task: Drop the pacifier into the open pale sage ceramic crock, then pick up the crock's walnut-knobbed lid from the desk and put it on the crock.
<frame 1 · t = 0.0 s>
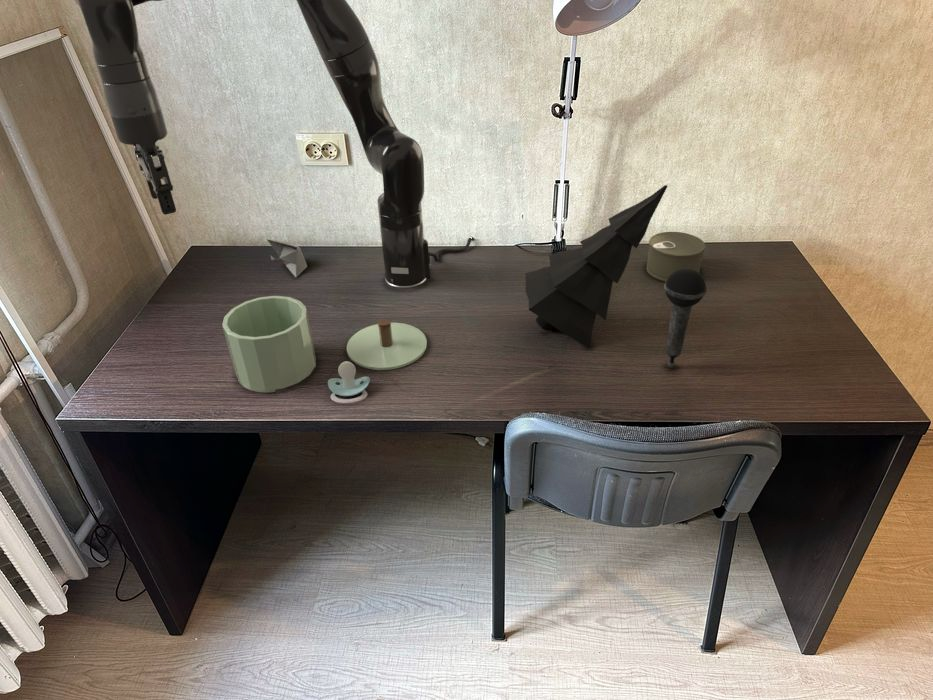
hand: (164, 204, 116), 29 cm above the table, tool pointing down, fingers open, 8 cm apart
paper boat: (288, 268, 159), on the table
can: (672, 271, 153), on the table
decorative tree: (584, 328, 134), on the table
microphone: (670, 368, 122), on the table
pacifier: (349, 395, 118), on the table
crock: (277, 368, 125), on the table
lid: (387, 346, 129), point 1 cm above the table
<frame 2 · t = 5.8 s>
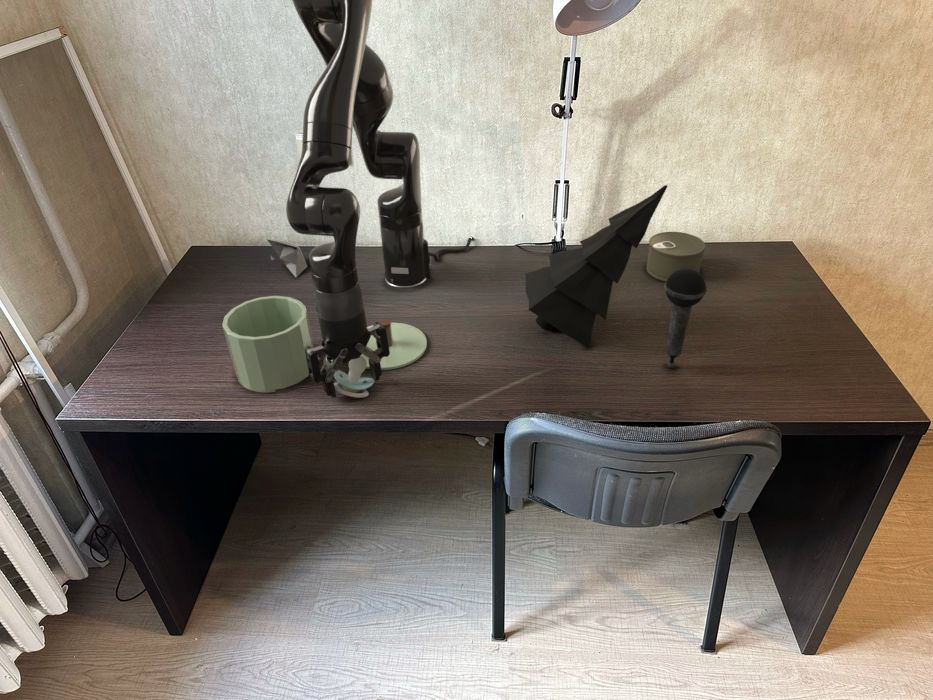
hand: (354, 386, 117), 2 cm above the table, tool pointing down, fingers closed on pacifier, 8 cm apart
pacifier: (349, 390, 118), point 1 cm above the table, touching gripper
everything else where it was.
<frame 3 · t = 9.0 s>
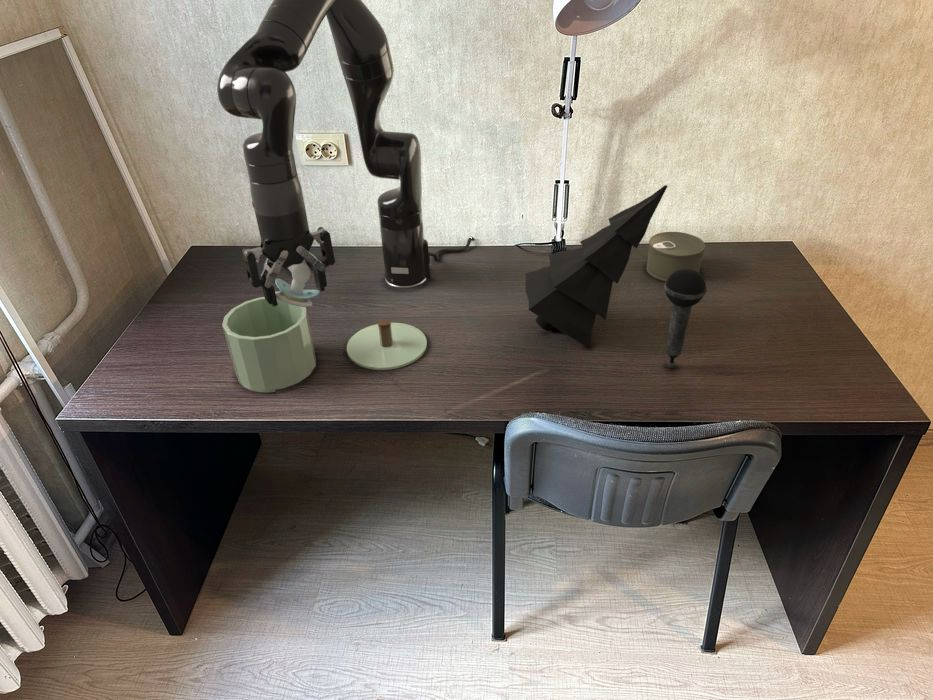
hand: (297, 296, 112), 18 cm above the table, tool pointing down, fingers closed on pacifier, 7 cm apart
pacifier: (292, 301, 112), point 17 cm above the table, touching gripper
everything else where it was.
when the fingers open (12 cm above the table, at t = 12.3 s): pacifier drops 11 cm, resting on crock.
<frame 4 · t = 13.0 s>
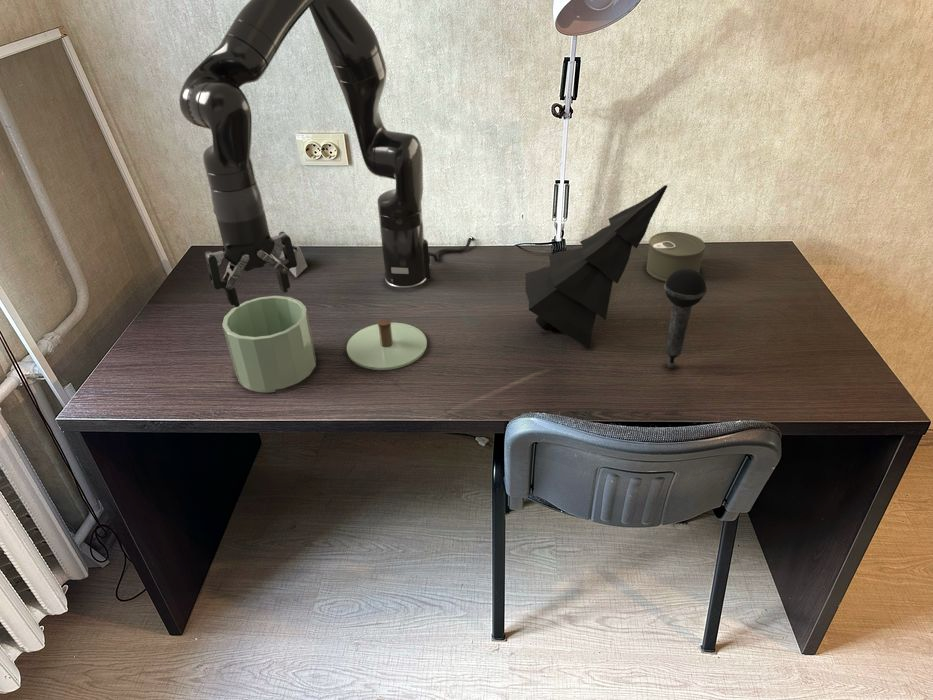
hand: (260, 297, 117), 15 cm above the table, tool pointing down, fingers open, 8 cm apart
pacifier: (269, 368, 125), resting on crock
everything else where it was.
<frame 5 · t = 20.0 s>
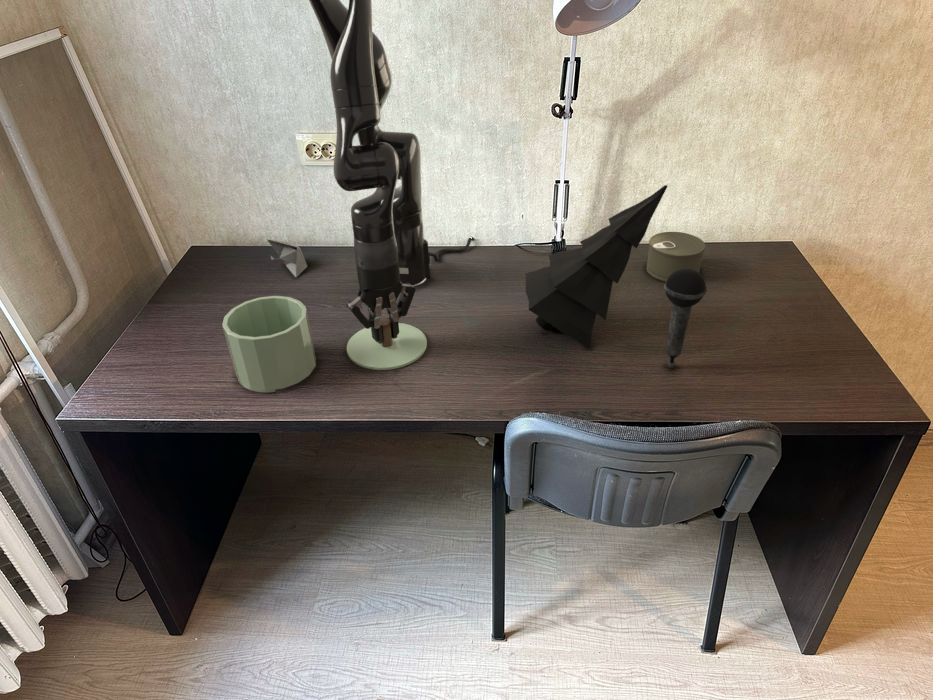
hand: (386, 338, 128), 2 cm above the table, tool pointing down, fingers closed on lid, 2 cm apart
lid: (387, 346, 129), point 1 cm above the table, touching gripper
everything else where it was.
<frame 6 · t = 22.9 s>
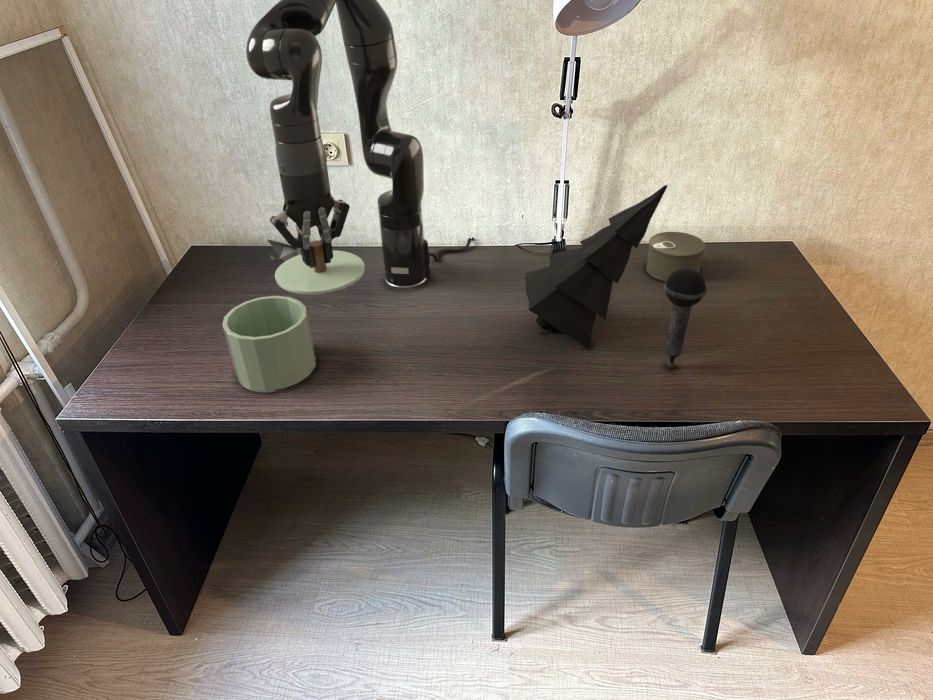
hand: (318, 263, 116), 20 cm above the table, tool pointing down, fingers closed on lid, 2 cm apart
lid: (320, 272, 117), point 19 cm above the table, touching gripper
everything else where it was.
when the fingers open (13 cm above the table, at t = 25.7 s): lid stays where it is, resting on crock.
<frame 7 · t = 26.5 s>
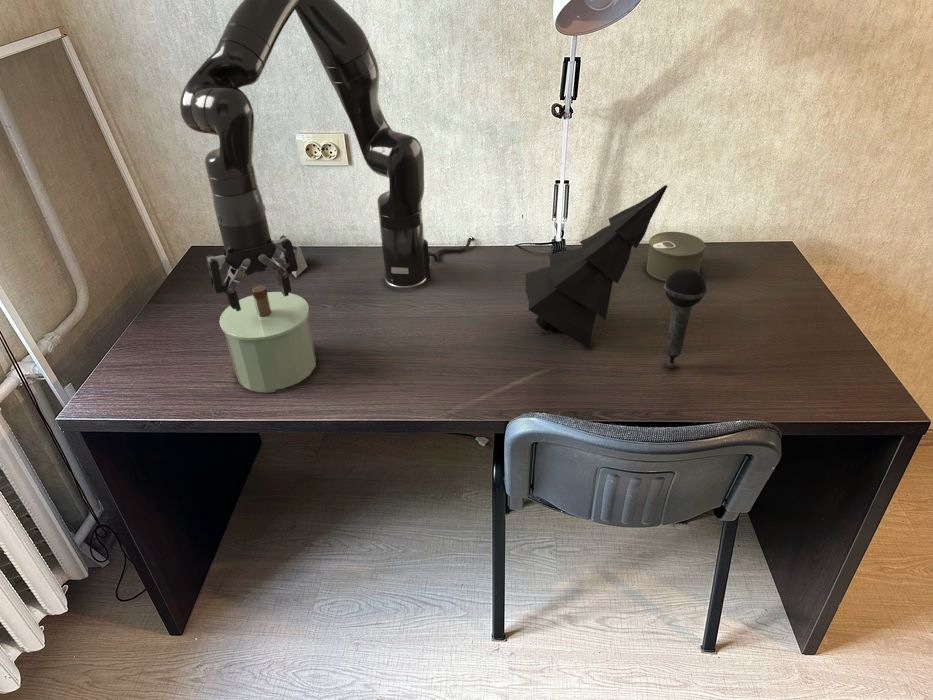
hand: (261, 301, 117), 15 cm above the table, tool pointing down, fingers open, 8 cm apart
lid: (265, 316, 119), point 11 cm above the table, touching crock
everything else where it was.
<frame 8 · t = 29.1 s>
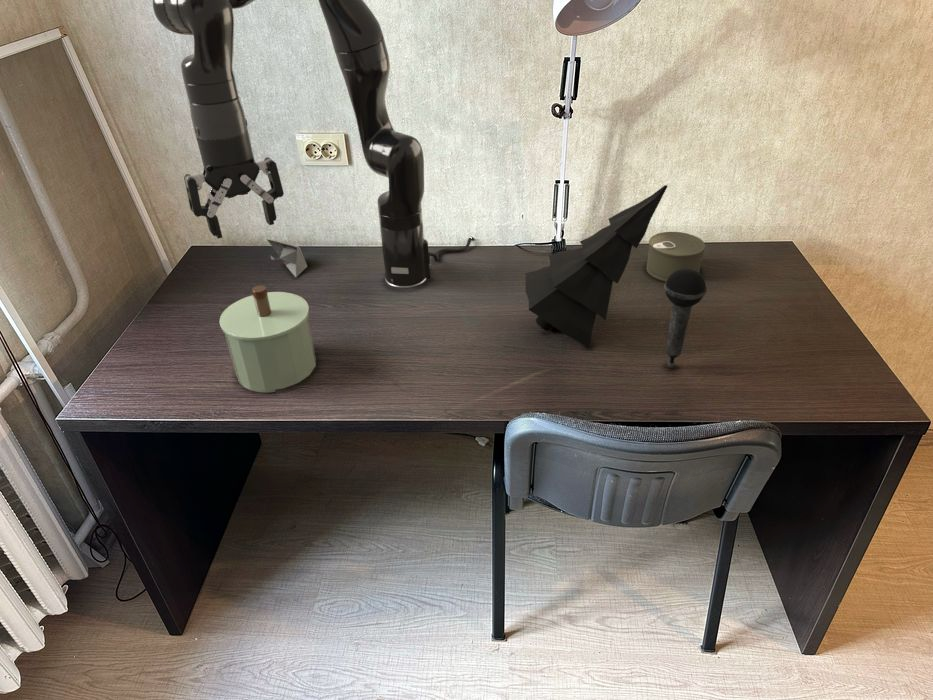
hand: (244, 230, 109), 28 cm above the table, tool pointing down, fingers open, 8 cm apart
nothing on the table moved.
at the end: pacifier inside the target area in the crock (1.4 cm from its centre), point 0.3 cm above the crock's base; lid 0.1 cm off-centre on the crock, point 11.5 cm above the crock's base; lid tilted 0° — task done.
